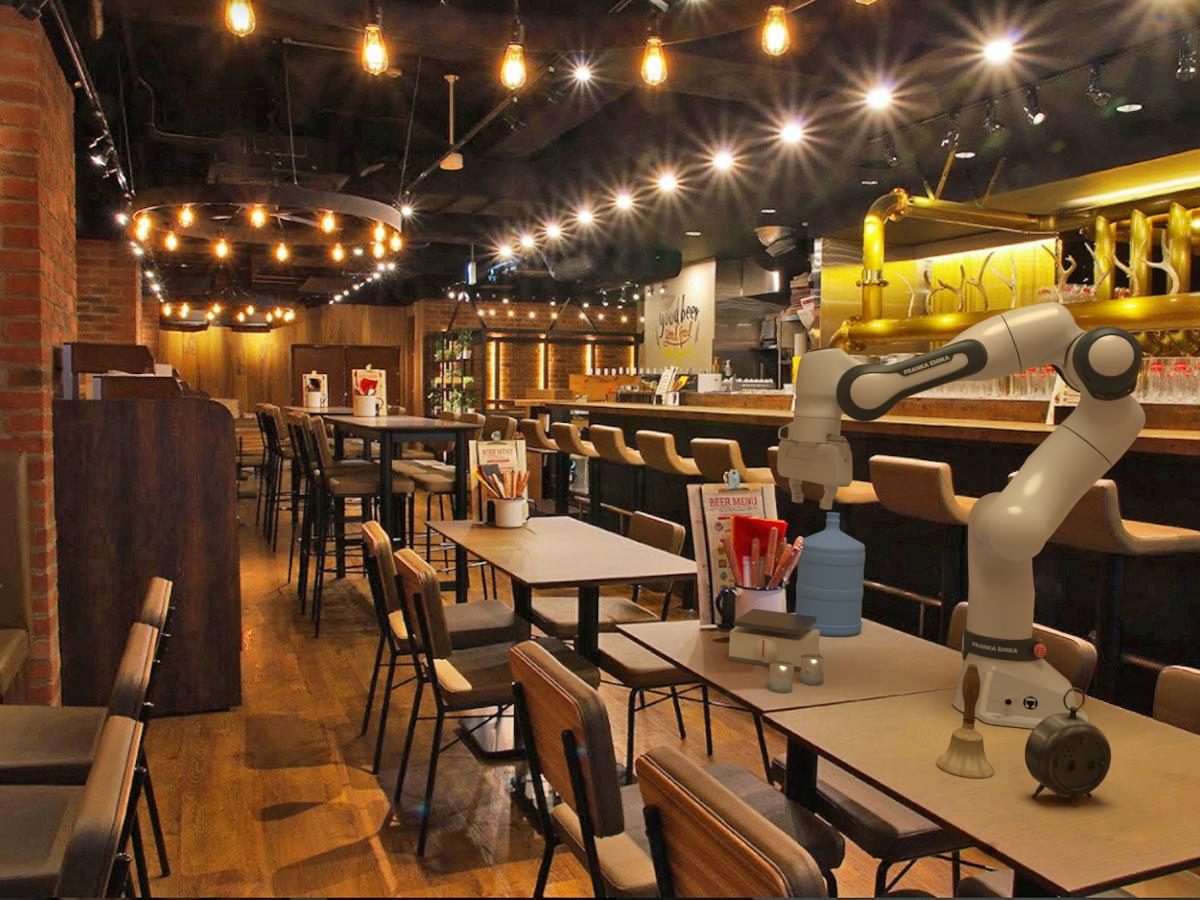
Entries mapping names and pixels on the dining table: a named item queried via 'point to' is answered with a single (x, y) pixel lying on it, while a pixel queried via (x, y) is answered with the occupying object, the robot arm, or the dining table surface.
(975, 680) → the hand bell
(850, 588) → the water jug
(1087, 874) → the dining table surface
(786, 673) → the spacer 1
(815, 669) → the small glass cup
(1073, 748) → the alarm clock
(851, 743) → the dining table surface
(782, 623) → the pan
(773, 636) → the scale body
